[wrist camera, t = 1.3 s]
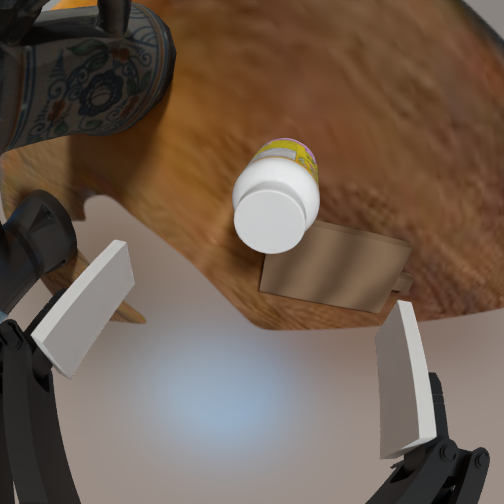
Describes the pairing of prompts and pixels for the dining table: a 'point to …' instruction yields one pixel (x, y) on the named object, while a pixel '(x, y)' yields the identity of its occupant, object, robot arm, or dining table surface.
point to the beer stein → (79, 69)
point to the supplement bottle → (276, 196)
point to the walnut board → (339, 268)
